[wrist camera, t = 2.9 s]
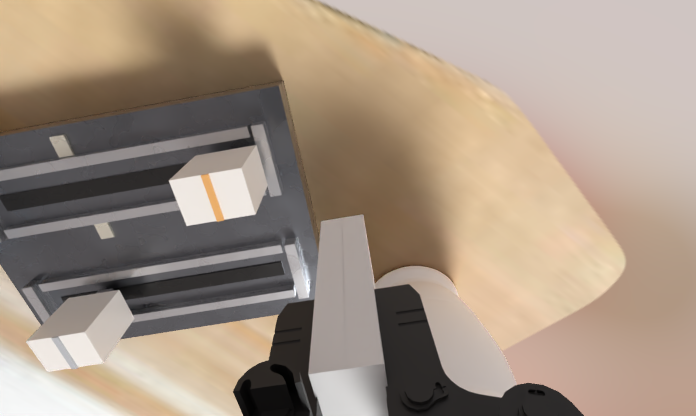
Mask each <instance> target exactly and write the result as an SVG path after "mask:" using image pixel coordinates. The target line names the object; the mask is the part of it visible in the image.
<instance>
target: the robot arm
mask: <svg viewBox="0 0 696 416" xmlns="http://www.w3.org/2000/svg"><path fill="white" fill-rule="evenodd" d="M272 345H273V346H272V347H271V352H270V357H269V360H268V361H265V362H262V363H259V364H257V365H256V366H254V367H252V368H251V369H249V370H248V371H247V372H246V373H245V374H244V375H243V376H242V377H241V378H240V379H239V380H238V382H237V384H236V386H235V389H234V391H233V393H234V395H235V397H236V400H237V402H238V404H239V407H240V409H241V411H242V414H243V416H584V415H583V414H582V413H581V412H580V411H579V410H578V409H577V408H576V407H575V406H574V405H573V403H572V402H570V401H569V400H568V399H567V398H565V397H564V396H563V395H562V394H561V393H559V392H557V391H555V390H553V389H551V388H548V387H546V386H544V385H539V384H532V383H526V384H520V385H515V386H513V387H512V388H510V389H509V390H507V391H506V392H505V393H504V395H503V397H502V398H500V397H494V396H488V395H482V394H477V393H473V392H469V391H467V390H465V389H463V388H461V387H459V386H458V385H456V384H455V383H454V382H452V381H451V380H450V379H449V377H448V376H447V375H446V374H445V372H444V370H443V368H442V365H441V362H440V359H439V355H438V352H437V349H436V346H435V342H434V339H433V336H432V333H431V329H430V326H429V323H428V320H427V316H426V313H425V311H424V307H423V303H422V300H421V297H420V294H419V293H418V292H417V291H416V290H415V289H414V288H413V287H411V286H410V285H409V284H405V285H399V286H392V287H386V288H379V289H375V282H374V275H373V270H372V264H371V258H370V252H369V246H368V240H367V234H366V228H365V222H364V216H363V214H362V215H356V216H350V217H343V218H337V219H331V220H325V221H321V229H320V241H319V253H318V265H317V277H316V289H315V299H314V300H307V301H301V302H294V303H288V304H287V305H286V306H285V307H284V309H283V310H282V312H281V313H280V314H279V316H278V318H277V323H276V328H275V334H274V337H273V342H272Z"/></svg>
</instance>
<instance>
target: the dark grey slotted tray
mask: <svg viewBox="0 0 696 416" xmlns="http://www.w3.org/2000/svg"><path fill="white" fill-rule="evenodd" d="M253 145H257V148H258V152H259V156H260V159H261V163H262V166H263V170H264V174H265V177H266V181H267V184H268V186H267V188H266V191H265V193H264V195H263V198H262V200H261V203H260V205H259V208H258V210H257V212H256V214H255V215H250V216H244V217H238V218H232V219H226V220H224V221H219V222H217V221H214V222H208V223H202V224H196V225H190V226H186V223H185V221H184V218H183V215H182V213H181V210H180V208H179V205H178V203H177V200H176V198H175V195H174V193H173V190H172V188H171V185H170V183H169V180H170V179H171V178H172V177H173V176H174V175H175V174H176V173H177V172H178V171H179V170H180V169H182V168H183V167H184V166H185V165H186V164H187V163H188V162H189V161H190V160H191V159H192V158H193V157H194V156H196V155H202V154H207V153H213V152H219V151H224V150H230V149H236V148H242V147H247V146H253ZM319 241H320V237H319V233H318V229H317V224H316V220H315V216H314V211H313V207H312V203H311V198H310V194H309V190H308V185H307V181H306V177H305V172H304V168H303V164H302V159H301V155H300V151H299V146H298V142H297V138H296V133H295V129H294V125H293V120H292V116H291V112H290V107H289V103H288V99H287V94H286V90H285V86H284V81H279V82H274V83H268V84H263V85H257V86H252V87H246V88H241V89H235V90H230V91H224V92H219V93H213V94H208V95H202V96H197V97H191V98H186V99H180V100H174V101H169V102H163V103H158V104H152V105H147V106H141V107H136V108H130V109H125V110H119V111H114V112H108V113H103V114H97V115H92V116H86V117H81V118H75V119H70V120H64V121H59V122H53V123H48V124H42V125H37V126H31V127H26V128H20V129H15V130H9V131H4V132H0V265H1V266H2V268H3V269H4V271H5V272H6V273H7V275H8V276H9V278H10V279H11V281H12V282H13V284H14V285H15V287H16V288H17V290H18V291H19V293H20V294H21V296H22V297H23V299H24V300H25V302H26V303H27V305H28V306H29V308H30V309H31V311H32V312H33V314H34V315H35V317H36V318H37V320H38V321H39V323H40V324H41V325H42V324H43V323H44V322H45V321H46V320H47V319H48V318H49V317H50V316H51V315H52V314H53V313H54V312H55V311H56V310H57V309H58V308H59V307H60V306H61V305H62V304H63V303H64V302H65V301H66V300H67V299H68V298H72V297H78V296H84V295H90V294H95V293H96V292H97V291H98V290H104V289H110V288H113V290H114V291H115V290H120V292H121V294H122V296H123V298H124V300H125V301H126V303H127V305H128V307H129V309H130V311H131V313H132V315H133V317H134V320H133V321H132V323H131V324H130V326H129V327H128V329H127V330H126V332H125V333H124V334H123V336H122V337H121V339H125V338H131V337H137V336H144V335H150V334H156V333H163V332H169V331H176V330H182V329H188V328H195V327H201V326H208V325H214V324H220V323H227V322H233V321H240V320H246V319H252V318H259V317H265V316H271V315H278V314H280V313H281V312H282V310H283V309H284V307H285V306H286V305H287V304H288V303H294V302H301V301H307V300H314V299H315V289H316V277H317V265H318V253H319Z"/></svg>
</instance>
